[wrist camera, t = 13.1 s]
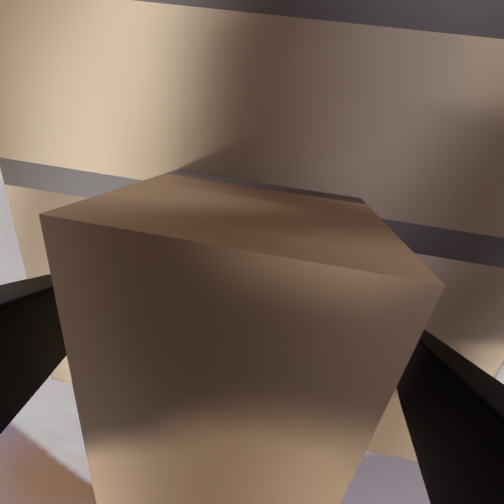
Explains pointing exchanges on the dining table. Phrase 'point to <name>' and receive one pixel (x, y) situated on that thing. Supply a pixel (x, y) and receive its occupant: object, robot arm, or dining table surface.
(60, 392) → the dining table surface
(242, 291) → the block
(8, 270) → the dining table surface
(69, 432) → the dining table surface
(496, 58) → the board
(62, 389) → the dining table surface
